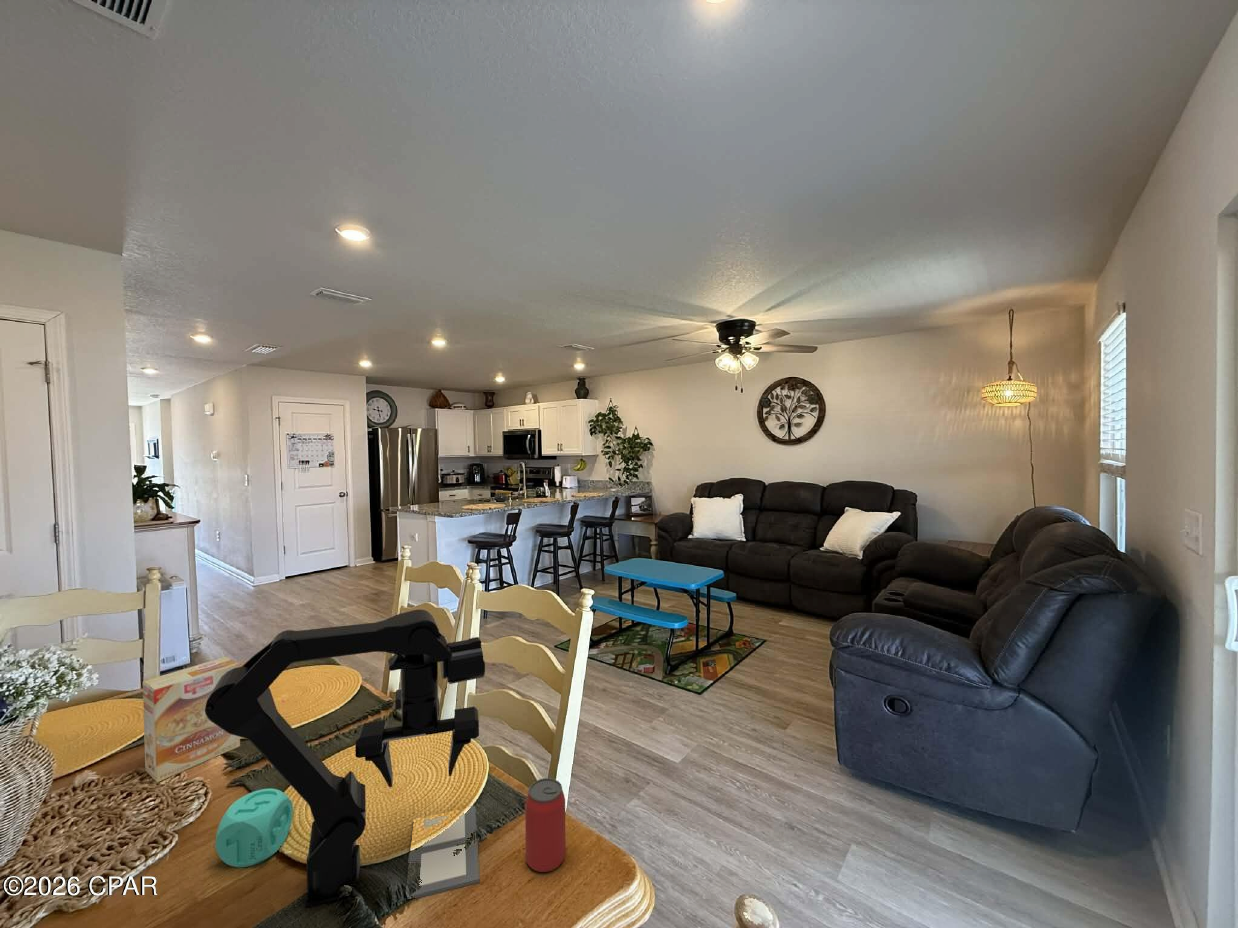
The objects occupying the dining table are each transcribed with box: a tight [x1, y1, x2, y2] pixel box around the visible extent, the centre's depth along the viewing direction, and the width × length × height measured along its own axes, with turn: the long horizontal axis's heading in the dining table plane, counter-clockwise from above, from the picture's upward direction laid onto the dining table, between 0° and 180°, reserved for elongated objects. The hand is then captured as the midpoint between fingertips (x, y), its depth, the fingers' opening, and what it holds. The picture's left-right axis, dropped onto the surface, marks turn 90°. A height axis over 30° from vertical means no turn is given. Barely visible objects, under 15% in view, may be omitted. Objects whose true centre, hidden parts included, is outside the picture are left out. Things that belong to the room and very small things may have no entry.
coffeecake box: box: [142, 656, 241, 783], centre depth 111 cm, size 15×7×20 cm, turn 148°
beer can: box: [524, 777, 566, 873], centre depth 85 cm, size 7×7×12 cm
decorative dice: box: [214, 788, 294, 868], centre depth 87 cm, size 8×8×8 cm
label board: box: [407, 805, 480, 899], centre depth 87 cm, size 11×17×1 cm, turn 18°
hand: (420, 779), depth 85 cm, fingers open, 9 cm apart
